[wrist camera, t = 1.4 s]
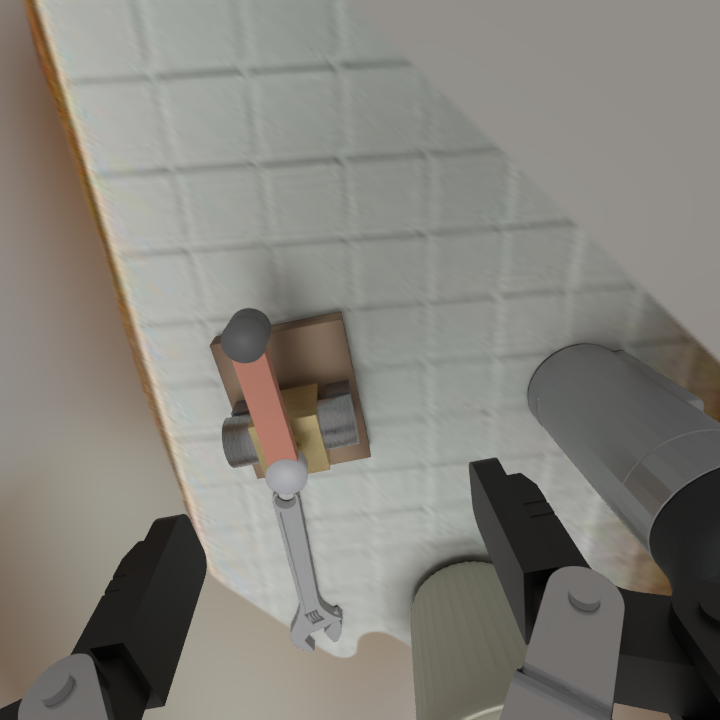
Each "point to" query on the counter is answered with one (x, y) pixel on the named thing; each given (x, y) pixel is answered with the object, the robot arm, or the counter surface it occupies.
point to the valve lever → (264, 399)
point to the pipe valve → (297, 426)
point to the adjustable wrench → (304, 578)
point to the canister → (463, 644)
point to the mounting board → (305, 369)
